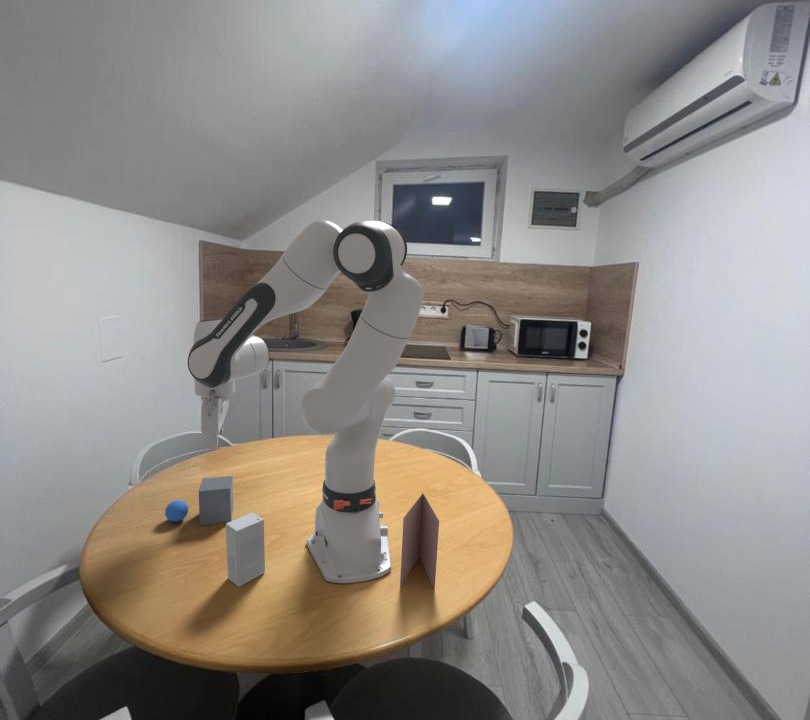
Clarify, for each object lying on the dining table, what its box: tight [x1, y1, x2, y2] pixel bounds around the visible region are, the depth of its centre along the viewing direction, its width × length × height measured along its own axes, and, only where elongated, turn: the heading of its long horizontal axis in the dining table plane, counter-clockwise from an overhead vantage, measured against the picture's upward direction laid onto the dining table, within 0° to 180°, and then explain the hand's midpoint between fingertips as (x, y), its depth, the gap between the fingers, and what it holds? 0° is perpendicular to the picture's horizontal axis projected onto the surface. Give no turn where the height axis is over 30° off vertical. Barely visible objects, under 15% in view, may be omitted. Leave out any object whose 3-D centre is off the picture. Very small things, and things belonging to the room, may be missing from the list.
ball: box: [164, 499, 189, 523], centre depth 105 cm, size 5×5×5 cm
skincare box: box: [225, 512, 266, 588], centre depth 86 cm, size 6×4×12 cm
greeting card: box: [399, 492, 440, 591], centre depth 89 cm, size 11×7×15 cm, turn 159°
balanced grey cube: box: [198, 475, 234, 526], centre depth 107 cm, size 7×7×9 cm
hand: (216, 440), depth 105 cm, fingers open, 8 cm apart
